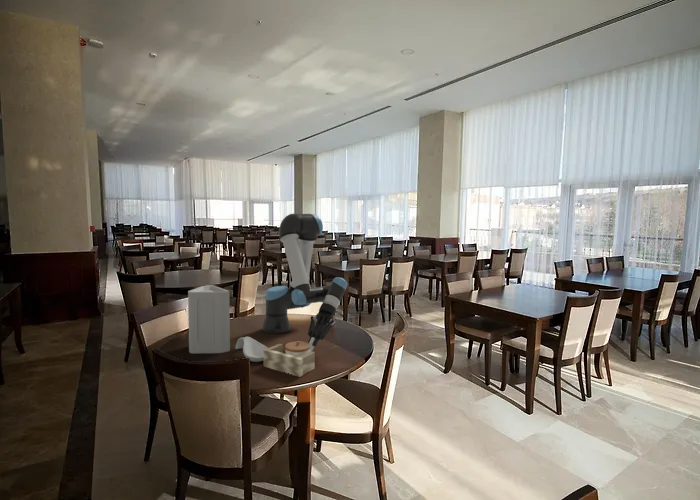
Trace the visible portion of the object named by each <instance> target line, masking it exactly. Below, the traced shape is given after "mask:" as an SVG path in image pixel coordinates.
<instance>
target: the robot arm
mask: <svg viewBox="0 0 700 500" xmlns="http://www.w3.org/2000/svg"><path fill="white" fill-rule="evenodd" d="M279 224H280V225H279V229H278V235H279V236H278V237H279V240H280V242H281V243H283V248H284V251H285V256H286V259H287V263H288V267H289V268H288V269H289V271H290V275H291V279H292V281H290V283H289V287H287V286H285V285H277V286H272V287H269V288H268V289H267V290H265V291H266V292H265V317H264V321H263V324H262V329H261V330H262V331H263V332H264V333H267V334H274V335H275V334H283V333H288V332H290V331H291V324H290V320H289V317H288V310H294V309H301V308H305V307H309V306H310V305H311V304H316V303H321V305H320V307H319V308H318V313H317V314H316V315H314V316H313V315H312V316H310V323H309V327H308V331H307V335H308V337H309V339H308V341H307V343H309V344H310V351H312V352H313V351H314V348H315V347H316V346H317V344H318V343H319V341H321V340H322V341H323V340H324V339H325V337H326V336H327V334H328V333H329V332H330V330H331V329H332V328H333V327H334V326H335V325H336V322H335V320H334V319H333V318H334V316H335V314H336V312H337V309H338V307H339V305H340V303H341V301H342V298H343V296H344V294H345V292H346V290H347V287H348V282H347V280H345V279H344V278H343V277H337V276H336V277H334V278H333V279H332V281H331V283H330V284H328V285H323V286H316V287H311V284H310V283H309V278H310V272H311V265H312V258H313V251H314V243H315V242H317V239H318V236H320V235H322V233H323V228H324V226H323V225H324V224H323V221H322V219H321V217H320V216H319V215H317V214H315V213H290V214H288V215H286V216H285V217H284V218H283V219H282V220H281V223H279Z"/></svg>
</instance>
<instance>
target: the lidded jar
mask: <svg viewBox="0 0 700 500" xmlns="http://www.w3.org/2000/svg"><path fill="white" fill-rule="evenodd" d="M284 349H285V350H284V352H285V354H289V355H293V356H297V357H300V356H302V355H304V354H306V353H308V352H310V344H309V343H308V341H307V342H306V341H302V340H297V341H295V340H294V341H291V342H287V343H286V344H285V345H284Z"/></svg>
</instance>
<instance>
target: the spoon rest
mask: <svg viewBox="0 0 700 500" xmlns="http://www.w3.org/2000/svg"><path fill="white" fill-rule="evenodd" d="M267 348H269V347H267V346H266V345H264V344H262V343H261V342H259V341H257V340H256V339H254V338H252V337H250V336H245V337H244V336H243V337H240V338H238V339H237V341H236V344H235V350H242V354H243V356H244V357H245V358H246V359H247V358H249V359H250V360H249V362H253V363H259V362H264V350H265V349H267Z"/></svg>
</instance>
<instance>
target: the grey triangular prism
mask: <svg viewBox="0 0 700 500" xmlns="http://www.w3.org/2000/svg"><path fill="white" fill-rule="evenodd" d="M187 299H188V300H187V301H188V302H187V304H188V308H187V309H188V310H187V311H188V352H189V353H190V354H223V353H227V352H230V348H231V347H230V345H231V343H230V341H231V339H230V338H231V337H230V335H231V334H230V331H231V330H230V329H231V328H230V327H231V326H230V322H231V321H230V317H231V316H230V290H227V289H225V288H222V287H219V286H216V285H214V284H213V285H212V284H209V285H207V284H206V285H202V286H199V287H195V288H193V289H190V290H188V291H187Z"/></svg>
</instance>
